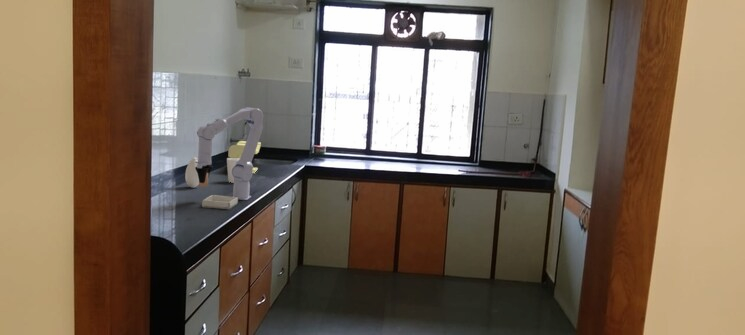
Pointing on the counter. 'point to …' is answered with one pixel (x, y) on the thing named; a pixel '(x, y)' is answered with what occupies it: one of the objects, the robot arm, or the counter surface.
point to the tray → (220, 202)
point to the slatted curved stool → (241, 151)
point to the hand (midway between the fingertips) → (203, 182)
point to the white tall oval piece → (192, 173)
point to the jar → (204, 182)
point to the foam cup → (230, 164)
